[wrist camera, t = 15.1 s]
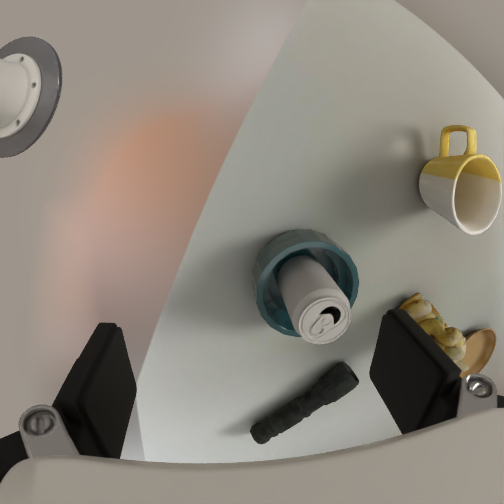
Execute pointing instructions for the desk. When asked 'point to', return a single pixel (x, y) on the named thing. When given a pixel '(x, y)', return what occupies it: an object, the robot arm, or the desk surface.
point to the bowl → (285, 249)
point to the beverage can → (313, 300)
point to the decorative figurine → (437, 328)
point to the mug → (462, 185)
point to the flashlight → (307, 403)
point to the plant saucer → (478, 350)
